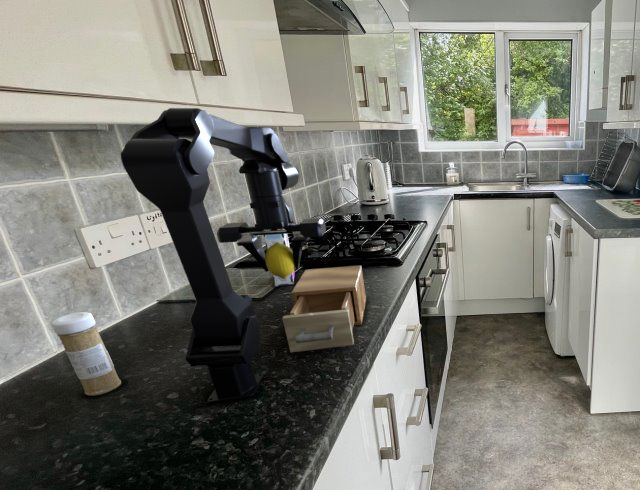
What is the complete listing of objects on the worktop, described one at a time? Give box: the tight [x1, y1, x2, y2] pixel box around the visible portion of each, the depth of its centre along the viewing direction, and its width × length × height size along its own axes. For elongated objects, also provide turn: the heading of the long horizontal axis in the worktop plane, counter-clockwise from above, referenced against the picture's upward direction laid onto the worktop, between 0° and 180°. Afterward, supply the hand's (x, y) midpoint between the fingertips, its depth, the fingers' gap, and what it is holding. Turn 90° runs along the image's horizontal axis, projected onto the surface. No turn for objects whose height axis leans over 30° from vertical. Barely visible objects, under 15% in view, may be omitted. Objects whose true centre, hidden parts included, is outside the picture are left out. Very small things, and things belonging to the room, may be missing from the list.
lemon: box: [265, 242, 296, 279], centre depth 86 cm, size 6×6×8 cm
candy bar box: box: [263, 229, 296, 287], centre depth 114 cm, size 11×5×16 cm, turn 25°
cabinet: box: [291, 265, 367, 326], centre depth 94 cm, size 15×13×9 cm
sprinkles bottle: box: [50, 311, 122, 397], centre depth 66 cm, size 5×5×13 cm
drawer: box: [282, 291, 356, 353], centre depth 82 cm, size 18×11×7 cm, turn 14°
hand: (282, 269), depth 86 cm, fingers closed on lemon, 5 cm apart
